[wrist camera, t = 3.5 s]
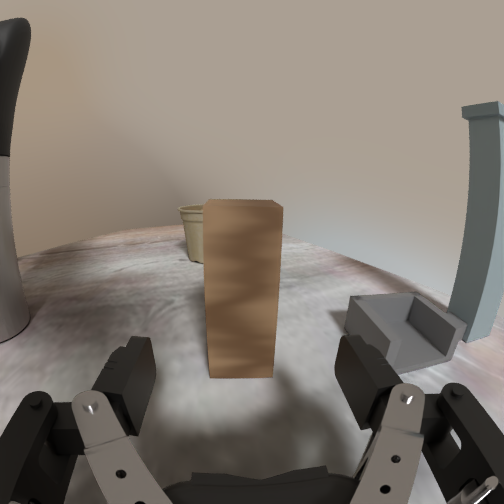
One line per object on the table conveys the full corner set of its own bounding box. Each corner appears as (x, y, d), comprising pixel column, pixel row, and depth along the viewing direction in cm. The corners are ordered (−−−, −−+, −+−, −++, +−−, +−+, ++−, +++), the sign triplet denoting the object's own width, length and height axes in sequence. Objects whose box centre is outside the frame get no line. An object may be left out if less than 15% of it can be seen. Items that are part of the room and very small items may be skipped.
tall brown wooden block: (209, 378, 19) (202, 206, 15) (212, 344, 23) (209, 199, 20) (272, 377, 19) (283, 207, 16) (265, 343, 23) (272, 200, 20)
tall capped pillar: (378, 378, 18) (411, 48, 12) (344, 327, 26) (362, 78, 19) (500, 342, 19) (532, 118, 13) (460, 311, 27) (482, 121, 21)
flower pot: (170, 256, 47) (168, 206, 45) (214, 248, 53) (214, 202, 51) (197, 271, 40) (195, 212, 38) (246, 260, 46) (248, 207, 44)
